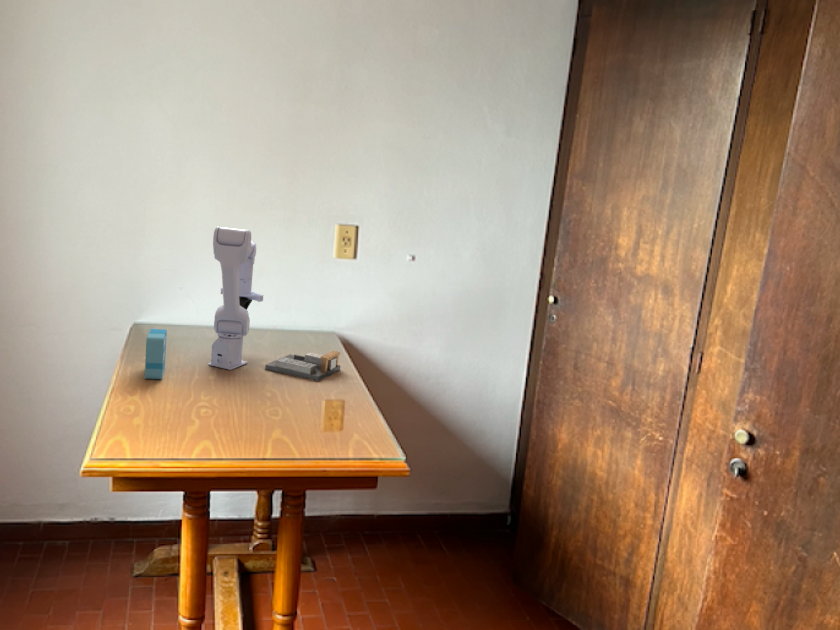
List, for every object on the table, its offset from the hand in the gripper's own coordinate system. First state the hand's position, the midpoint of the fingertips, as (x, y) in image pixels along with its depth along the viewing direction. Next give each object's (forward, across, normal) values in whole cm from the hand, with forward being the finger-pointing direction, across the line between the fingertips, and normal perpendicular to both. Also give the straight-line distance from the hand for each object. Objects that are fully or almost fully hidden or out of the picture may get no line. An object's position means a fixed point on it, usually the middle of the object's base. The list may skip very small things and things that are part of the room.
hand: (240, 319), depth 251 cm
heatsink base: (+10, -26, +4) cm, 28 cm away
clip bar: (+9, -30, +2) cm, 32 cm away
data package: (+10, +4, +36) cm, 38 cm away
